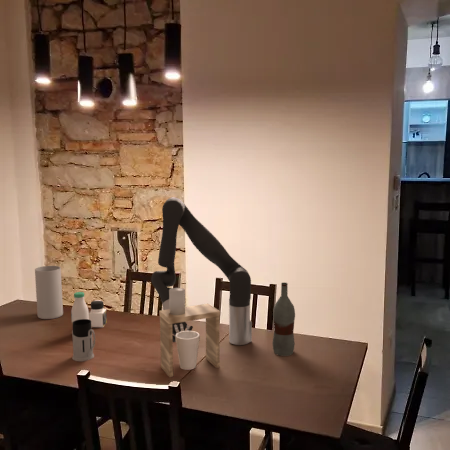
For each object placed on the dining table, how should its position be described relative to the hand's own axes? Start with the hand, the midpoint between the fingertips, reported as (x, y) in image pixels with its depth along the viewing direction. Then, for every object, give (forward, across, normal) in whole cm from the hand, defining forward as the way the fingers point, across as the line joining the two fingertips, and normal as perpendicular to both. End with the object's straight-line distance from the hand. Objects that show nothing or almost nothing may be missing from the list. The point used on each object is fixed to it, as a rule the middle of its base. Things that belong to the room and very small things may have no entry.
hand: (183, 350), depth 206 cm
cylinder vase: (-55, -42, +63) cm, 94 cm away
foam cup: (+7, 0, 0) cm, 7 cm away
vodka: (+10, +41, -3) cm, 43 cm away
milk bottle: (-31, -32, +38) cm, 59 cm away
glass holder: (-10, -35, +18) cm, 41 cm away
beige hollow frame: (+8, 0, -1) cm, 8 cm away
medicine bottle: (-38, -22, +46) cm, 63 cm away
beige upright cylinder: (-8, -5, -17) cm, 20 cm away
